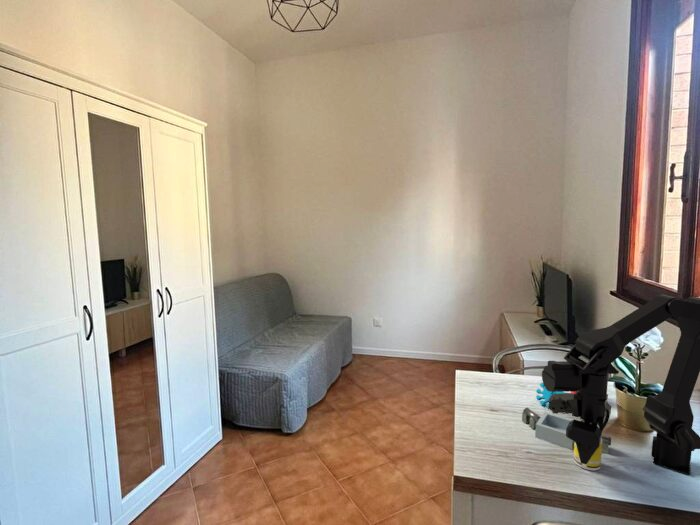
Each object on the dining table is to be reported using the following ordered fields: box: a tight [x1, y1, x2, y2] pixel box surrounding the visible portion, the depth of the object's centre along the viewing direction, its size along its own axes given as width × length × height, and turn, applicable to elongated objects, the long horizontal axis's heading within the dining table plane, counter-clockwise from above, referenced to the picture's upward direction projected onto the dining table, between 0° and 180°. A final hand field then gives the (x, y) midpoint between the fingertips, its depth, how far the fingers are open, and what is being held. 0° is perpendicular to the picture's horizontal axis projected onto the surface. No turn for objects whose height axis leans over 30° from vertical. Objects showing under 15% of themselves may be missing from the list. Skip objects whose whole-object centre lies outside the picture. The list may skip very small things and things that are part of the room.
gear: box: [535, 382, 565, 409], centre depth 116 cm, size 11×6×10 cm
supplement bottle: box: [573, 419, 603, 471], centre depth 88 cm, size 5×5×10 cm
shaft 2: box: [601, 434, 612, 454], centre depth 95 cm, size 7×3×4 cm, turn 59°
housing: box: [534, 411, 575, 450], centre depth 99 cm, size 8×8×4 cm
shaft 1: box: [521, 407, 541, 430], centre depth 105 cm, size 6×3×4 cm, turn 14°
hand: (587, 453), depth 88 cm, fingers open, 9 cm apart
